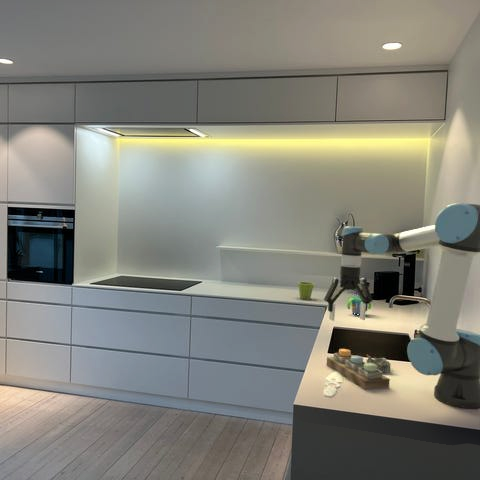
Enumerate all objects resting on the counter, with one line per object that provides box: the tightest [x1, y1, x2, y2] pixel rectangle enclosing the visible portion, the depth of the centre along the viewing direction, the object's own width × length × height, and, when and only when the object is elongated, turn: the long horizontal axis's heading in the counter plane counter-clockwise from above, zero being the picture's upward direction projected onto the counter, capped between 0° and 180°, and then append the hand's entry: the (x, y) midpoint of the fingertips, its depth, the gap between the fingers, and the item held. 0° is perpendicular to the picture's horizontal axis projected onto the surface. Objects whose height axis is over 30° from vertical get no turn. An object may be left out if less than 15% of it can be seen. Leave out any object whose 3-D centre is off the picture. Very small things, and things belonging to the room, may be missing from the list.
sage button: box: [364, 362, 377, 373], centre depth 164 cm, size 4×4×2 cm
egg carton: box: [366, 354, 392, 373], centre depth 182 cm, size 11×8×4 cm
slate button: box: [351, 355, 364, 365], centre depth 172 cm, size 4×4×2 cm
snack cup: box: [346, 296, 372, 314], centre depth 282 cm, size 16×10×10 cm
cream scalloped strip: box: [323, 370, 344, 398], centre depth 164 cm, size 6×28×1 cm, turn 161°
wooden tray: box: [326, 352, 390, 390], centre depth 172 cm, size 26×10×5 cm, turn 19°
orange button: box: [338, 348, 352, 358], centre depth 180 cm, size 4×4×2 cm
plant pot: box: [297, 281, 315, 301], centre depth 326 cm, size 12×12×11 cm
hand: (347, 319), depth 182 cm, fingers open, 13 cm apart
